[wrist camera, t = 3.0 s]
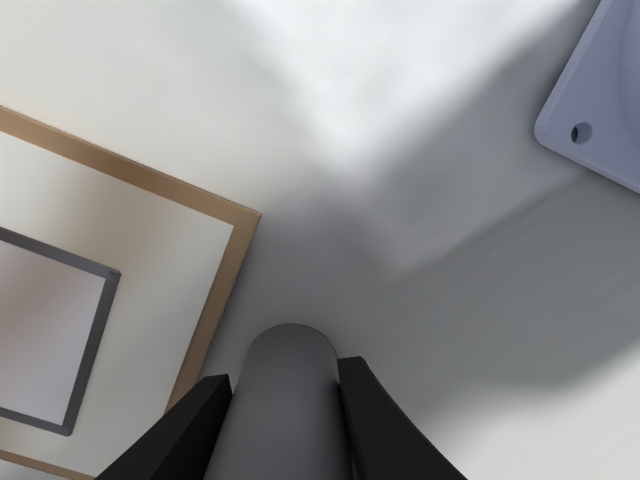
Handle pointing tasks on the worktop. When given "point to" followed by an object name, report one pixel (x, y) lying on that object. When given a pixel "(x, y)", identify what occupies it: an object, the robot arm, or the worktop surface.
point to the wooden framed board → (101, 295)
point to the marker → (285, 413)
